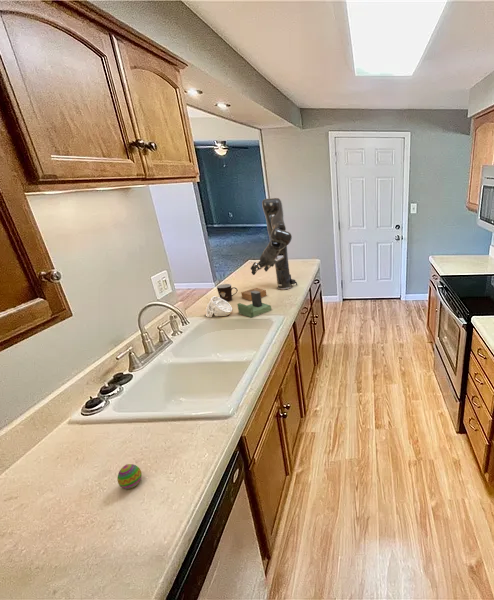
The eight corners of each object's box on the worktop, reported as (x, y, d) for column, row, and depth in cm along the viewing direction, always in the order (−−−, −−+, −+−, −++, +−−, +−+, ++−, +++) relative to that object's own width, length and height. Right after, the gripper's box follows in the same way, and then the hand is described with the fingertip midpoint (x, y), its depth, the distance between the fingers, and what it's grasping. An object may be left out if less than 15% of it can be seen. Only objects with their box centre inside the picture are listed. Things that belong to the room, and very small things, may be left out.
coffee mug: (216, 301, 213) (213, 287, 209) (226, 297, 220) (224, 283, 217) (229, 304, 209) (227, 289, 205) (240, 299, 216) (237, 285, 213)
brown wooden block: (257, 293, 229) (256, 287, 227) (266, 295, 223) (265, 290, 222) (242, 298, 219) (241, 292, 218) (251, 300, 214) (250, 295, 213)
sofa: (258, 306, 206) (257, 297, 203) (271, 310, 199) (270, 300, 197) (238, 313, 195) (237, 303, 193) (251, 317, 188) (249, 308, 186)
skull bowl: (208, 309, 197) (215, 292, 193) (229, 321, 199) (237, 305, 195) (197, 315, 187) (205, 298, 183) (220, 328, 189) (228, 311, 185)
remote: (257, 304, 200) (254, 290, 197) (262, 306, 197) (260, 291, 194) (252, 305, 198) (250, 291, 194) (258, 307, 195) (255, 293, 192)
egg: (138, 489, 84) (131, 472, 82) (116, 493, 83) (109, 475, 81) (146, 474, 89) (141, 457, 87) (126, 477, 88) (120, 460, 86)
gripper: (276, 247, 188) (265, 264, 198) (254, 252, 177) (245, 269, 187) (283, 258, 188) (272, 274, 198) (262, 263, 176) (252, 280, 187)
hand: (259, 272), depth 192 cm, fingers open, 8 cm apart
